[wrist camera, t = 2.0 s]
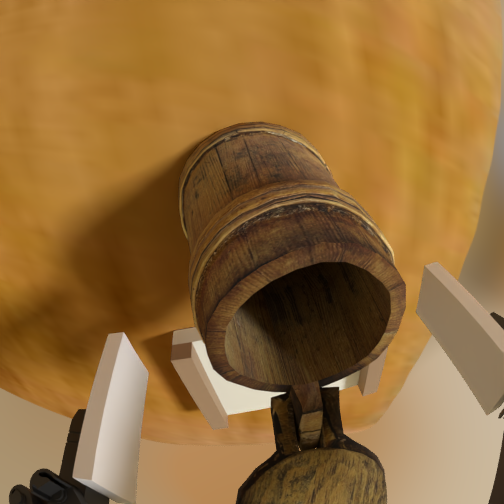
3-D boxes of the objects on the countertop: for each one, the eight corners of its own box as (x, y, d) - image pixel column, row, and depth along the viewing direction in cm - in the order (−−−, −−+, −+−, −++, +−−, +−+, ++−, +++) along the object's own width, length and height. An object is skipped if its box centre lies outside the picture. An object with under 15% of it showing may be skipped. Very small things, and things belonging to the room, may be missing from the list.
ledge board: (173, 330, 22) (170, 360, 19) (377, 285, 22) (395, 309, 19) (211, 404, 27) (213, 429, 25) (366, 369, 28) (376, 391, 25)
